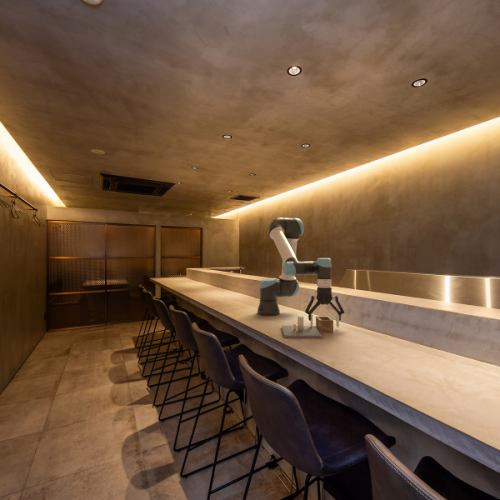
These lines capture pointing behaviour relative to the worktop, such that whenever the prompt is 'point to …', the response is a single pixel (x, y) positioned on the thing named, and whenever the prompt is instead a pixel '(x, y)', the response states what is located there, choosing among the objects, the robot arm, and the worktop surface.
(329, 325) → the open wooden box
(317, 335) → the base
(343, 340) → the worktop surface
